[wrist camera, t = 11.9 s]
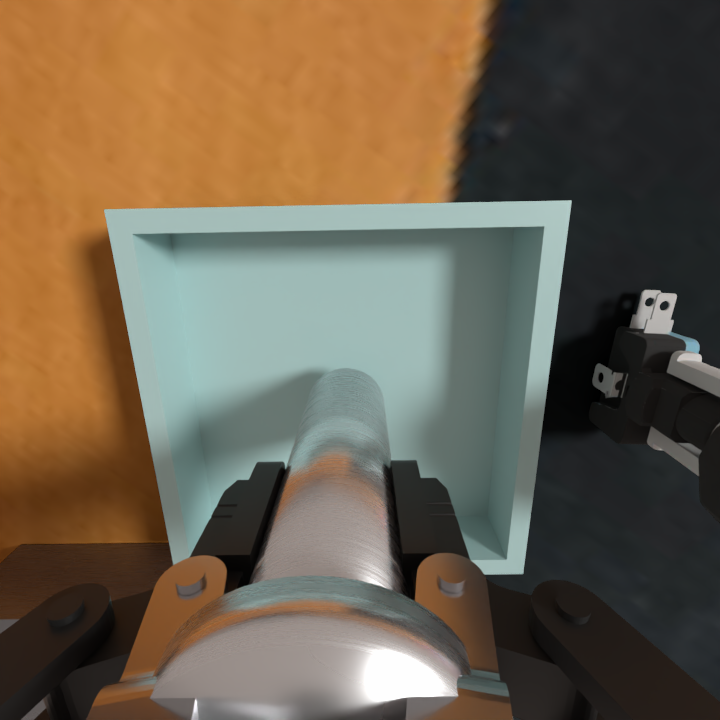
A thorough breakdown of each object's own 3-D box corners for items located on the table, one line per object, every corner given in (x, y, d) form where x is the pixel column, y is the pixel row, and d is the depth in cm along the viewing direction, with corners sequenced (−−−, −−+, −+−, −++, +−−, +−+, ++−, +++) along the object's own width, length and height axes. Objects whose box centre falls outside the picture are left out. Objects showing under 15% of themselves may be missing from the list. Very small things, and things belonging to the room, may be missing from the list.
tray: (530, 206, 17) (571, 200, 14) (498, 520, 22) (522, 573, 18) (154, 213, 17) (104, 209, 14) (204, 524, 22) (175, 577, 18)
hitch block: (240, 542, 22) (211, 617, 18) (260, 698, 26) (240, 791, 22) (20, 544, 22) (-62, 620, 18) (71, 699, 26) (13, 792, 22)
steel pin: (406, 346, 17) (519, 644, 5) (404, 455, 18) (486, 892, 6) (283, 348, 17) (81, 648, 5) (291, 456, 18) (155, 891, 6)
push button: (585, 285, 18) (837, 350, 8) (705, 291, 18) (1093, 360, 8) (556, 423, 20) (733, 601, 10) (664, 428, 20) (940, 609, 10)
